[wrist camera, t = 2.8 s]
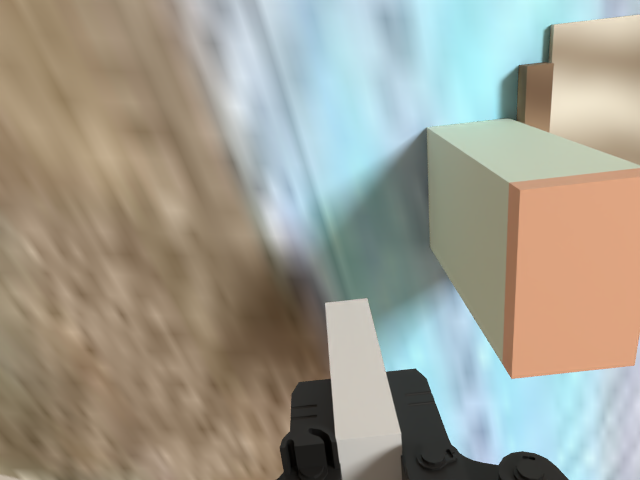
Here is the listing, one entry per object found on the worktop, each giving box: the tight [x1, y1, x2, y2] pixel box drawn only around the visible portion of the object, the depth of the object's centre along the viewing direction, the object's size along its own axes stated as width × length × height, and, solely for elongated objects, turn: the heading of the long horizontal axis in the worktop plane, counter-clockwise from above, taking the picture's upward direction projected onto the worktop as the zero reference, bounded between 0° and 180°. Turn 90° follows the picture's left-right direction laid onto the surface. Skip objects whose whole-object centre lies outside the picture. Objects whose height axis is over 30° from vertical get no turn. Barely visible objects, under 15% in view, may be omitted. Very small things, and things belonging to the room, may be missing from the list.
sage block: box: [427, 118, 640, 379], centre depth 25 cm, size 8×5×14 cm, turn 6°
